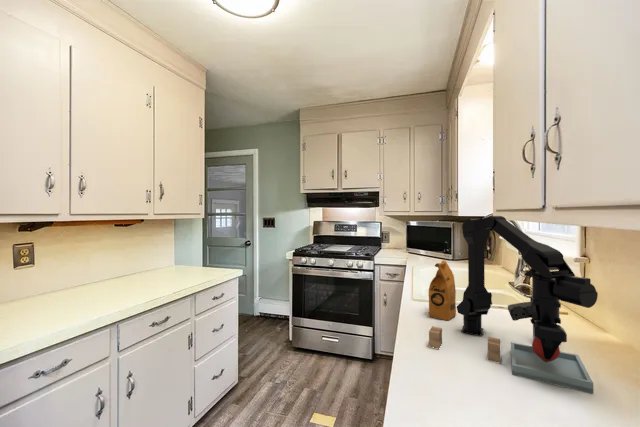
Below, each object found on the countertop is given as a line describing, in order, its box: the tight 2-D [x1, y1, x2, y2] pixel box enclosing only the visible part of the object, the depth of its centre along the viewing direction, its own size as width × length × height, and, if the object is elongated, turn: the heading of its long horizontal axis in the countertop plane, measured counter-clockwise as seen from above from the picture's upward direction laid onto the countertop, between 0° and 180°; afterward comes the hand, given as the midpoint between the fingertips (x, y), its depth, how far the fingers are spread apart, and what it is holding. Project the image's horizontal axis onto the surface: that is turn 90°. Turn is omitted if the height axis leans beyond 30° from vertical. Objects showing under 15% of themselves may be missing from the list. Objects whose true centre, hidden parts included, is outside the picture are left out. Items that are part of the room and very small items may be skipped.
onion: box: [531, 337, 561, 362], centre depth 78 cm, size 6×6×8 cm
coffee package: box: [428, 259, 457, 322], centre depth 120 cm, size 10×12×22 cm
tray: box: [510, 341, 594, 394], centre depth 78 cm, size 16×16×2 cm
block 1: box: [428, 325, 443, 350], centre depth 93 cm, size 5×3×5 cm, turn 148°
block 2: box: [487, 336, 501, 364], centre depth 84 cm, size 5×3×5 cm, turn 148°
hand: (545, 354), depth 78 cm, fingers closed on onion, 6 cm apart
